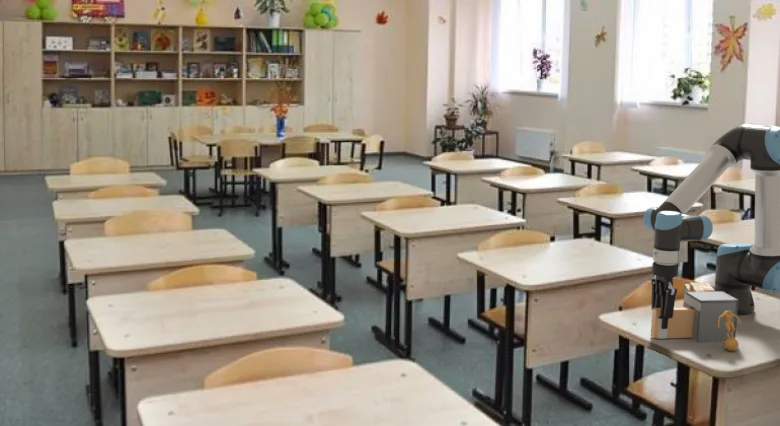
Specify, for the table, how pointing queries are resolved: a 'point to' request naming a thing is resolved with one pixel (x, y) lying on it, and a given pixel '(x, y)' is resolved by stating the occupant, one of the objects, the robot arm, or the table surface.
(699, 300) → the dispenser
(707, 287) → the stack of blocks
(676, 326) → the light orange rectangular block
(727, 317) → the figurine
